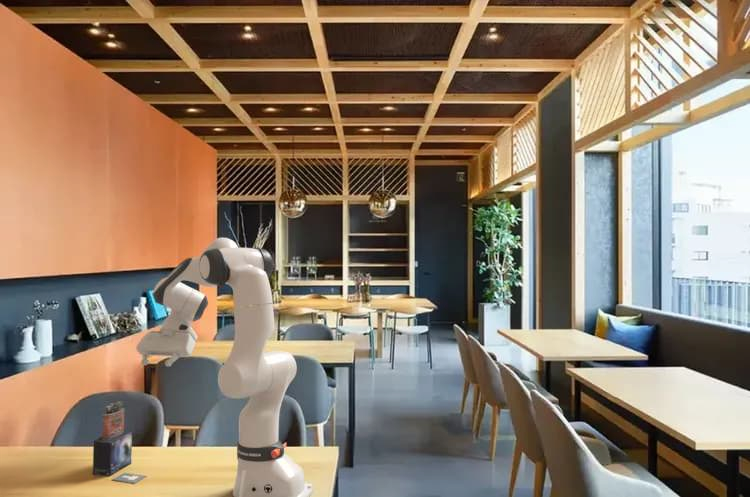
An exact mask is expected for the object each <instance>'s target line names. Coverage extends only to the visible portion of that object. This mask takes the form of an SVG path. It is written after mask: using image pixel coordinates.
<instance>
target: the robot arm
mask: <svg viewBox="0 0 750 497" xmlns="http://www.w3.org/2000/svg"><path fill="white" fill-rule="evenodd" d="M273 270H274V261H273V257H272V255H271V254H270V252H269V251H268V250H267V249H264V248H260V247H239V246H238V244H237V243H236V242H235V241H234V240H232V239H230V238H229V237H218V238H215V239H214V240H213V241H212V242H210V243H209V244H208V245H207V246H206V247H205V248H204V249H203V251H202V253H201V254H200V255H199V256H196V257H195V256H194V257H187V258H185V259H184V260H182V262H179V264H178V265H177V266H176V267H175V268H173V270H171V271H170V272H169V273H168V274H167V275H166V276H165V277H163V278H162V279H161V280H160V281H158V282H157V284H156V285H155V286H154V289H153V291H152V297H153V299H154V302H155V303H156V304H158V305H160V306H163V307H166V308H169V309H170V312H169V315H168V316H167V317H166V318H165V319H164V321H163V323H162V325H161V327H160V328H159V330H150V331H148V332H146V334H145V335H144V336H143V337H142V338H141V339H140V341H138V344H137V345H136V346H135V347H136V351H137V352H138V353H139V354H140V355H141V356H142V359H141V361H140V364H141V365H142V366H147V365H148V364H149V362H150V361H149V360H148V358H149V357H150V356H158V357H159V356H160V357H170V358H169V359H166V360H165V362H164V365H165V366H166V367H172V365H173V363H175V362H176V361H178V359H179V358H180V357H182V358H188V357H190V356H191V354H192V353H193V351H194V349H195V346H196V342H197V340H198V338H199V337H198V335H197V333H196V332H195V330H194V329H193V328H192V326H191V324H192V323H193V322H196V321H198V320H200V319H201V318H202V317H203V314H204V312H205V310H206V308H207V307H208V305H209V302H208V297H207V296H206V294H204V293H202V292H201V291H199V290H197V289H196V288H193V287H190V286H188V285H187V284H185V283H183V282H182V281H187V282H191V283H194V284H197V285H200V286H202V287H216V286H217V287H220V288H224V287H225V285H228V286H230V287H231V289H232V296H233V313H234V340H233V344H232V348H231V351H230V354H229V355H228V358H227V359H226V361H225V362H224V363H223V365H222V366H221V367H220V369H219V372H218V374H217V384H218V388H219V389H220V391H221V393H222V394H223V395H224V396H225V397H227V398H229V399H245V398H246V399H247V398H249V400H248V401H247V404H246V405H245V406H244V407H243V409H242V410H241V411H240V413H239V416H238V441H237V444H236V445H237V446H236V457H237V459H236V460H237V469H236V470H237V471H236V476H235V481H234V486H233V488H232V496H233V497H310V496H311V495H312V494H311V493H313V490H314V489H313V484H312V483H311V482H307V481H306V479H305V473H304V470H303V468H302V466H300V465H299V463H297V462H296V461H294V460H293V459H292V458H291V457H290V456H288V455H287V454H286V453H285V448H287V442H284V443H282V442H281V440H280V438H279V430H280V429H279V428H280V427H279V426H280V425H279V424H280V423H279V422H280V412H281V406H282V403H283V400H284V397H285V393H286V391H287V389H288V387H289V385H290V384H291V382H292V381H293V380H294V379H295V377H296V375H297V369H298V368H297V362H296V359H295V357H294V355H292V354H291V353H290V352H288V351H286V350H269V351H265V349H266V346H267V342H268V340H269V339H270V338H271V336H272V335H273V334H274V333H275V328H276V324H275V314H274V301H273V293H272V289H271V284H270V280H269V278H270V276H271V275H272V272H273Z"/></svg>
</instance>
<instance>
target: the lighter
mask: <svg viewBox="0 0 750 497" xmlns="http://www.w3.org/2000/svg"><path fill="white" fill-rule="evenodd" d="M121 406H123V401H121V400H120V401H116V402H115V403H113V402H112V403H109V404H108V405H107V406H106V407H105V410H106V412H104V413H102V414H101V415H102V416H101V417H102V435H101V437H102V439H103V440H107V439H111V438H114V437H116V436H119V435H121V434H122V433H124V432H125V431H126V430H125V410H126V409H125V407H121Z"/></svg>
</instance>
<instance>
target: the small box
mask: <svg viewBox="0 0 750 497" xmlns="http://www.w3.org/2000/svg"><path fill="white" fill-rule="evenodd" d="M132 439H133V431H128V430H127V431H126V430H125V432H124V433H122V434H121V435H119V436H116V437H114V438H111V439H107V440H103V439H102V436H100V437H98V438H96V439H94V440H93V446H92V447H93V450H92V451H93V452H92V455H93V456H92V458H93V459H92V475H95V476H104V477H105V476H106V477H111V476H112V475H114V474H116V473H117V472H119V471H121V470H123V469H124V468H126V467H127V466H131V465H132V448H133V446H132V445H133V440H132Z"/></svg>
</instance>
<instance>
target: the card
mask: <svg viewBox="0 0 750 497" xmlns="http://www.w3.org/2000/svg"><path fill="white" fill-rule="evenodd" d="M145 478H147V475H144V474H143V475H142V474H137V473H130V472H129V473H128V472H123V473H122V474H119V475H118V476H116V477H114V478H113V479H111V480H112V481H116V482H122V483H128V484H138V483H139V482H140V481H142V480H144V479H145Z"/></svg>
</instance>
